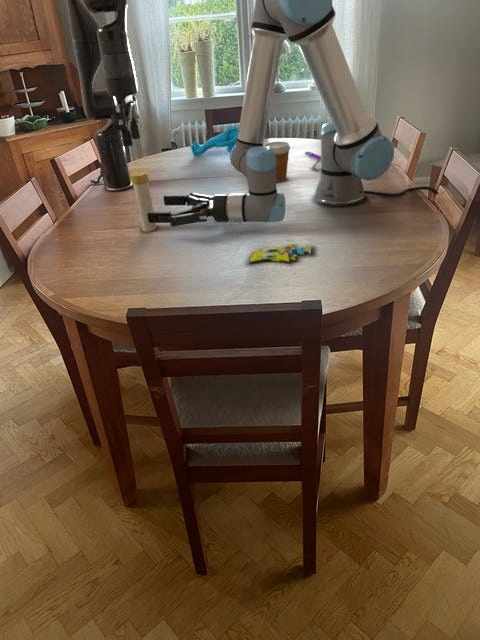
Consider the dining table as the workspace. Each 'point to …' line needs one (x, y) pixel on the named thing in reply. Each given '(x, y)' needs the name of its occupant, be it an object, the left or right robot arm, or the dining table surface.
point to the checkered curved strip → (315, 157)
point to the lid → (139, 177)
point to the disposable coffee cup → (280, 158)
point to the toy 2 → (278, 254)
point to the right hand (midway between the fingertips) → (156, 208)
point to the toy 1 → (218, 141)
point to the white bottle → (144, 205)
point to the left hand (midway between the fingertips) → (132, 142)
